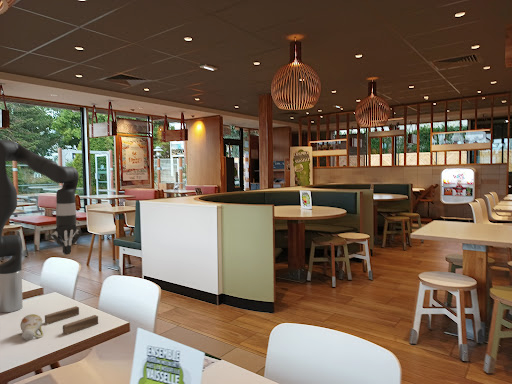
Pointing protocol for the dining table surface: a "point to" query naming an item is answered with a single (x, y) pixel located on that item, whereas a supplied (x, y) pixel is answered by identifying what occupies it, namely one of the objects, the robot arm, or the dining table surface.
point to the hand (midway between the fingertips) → (66, 254)
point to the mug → (31, 326)
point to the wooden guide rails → (74, 325)
